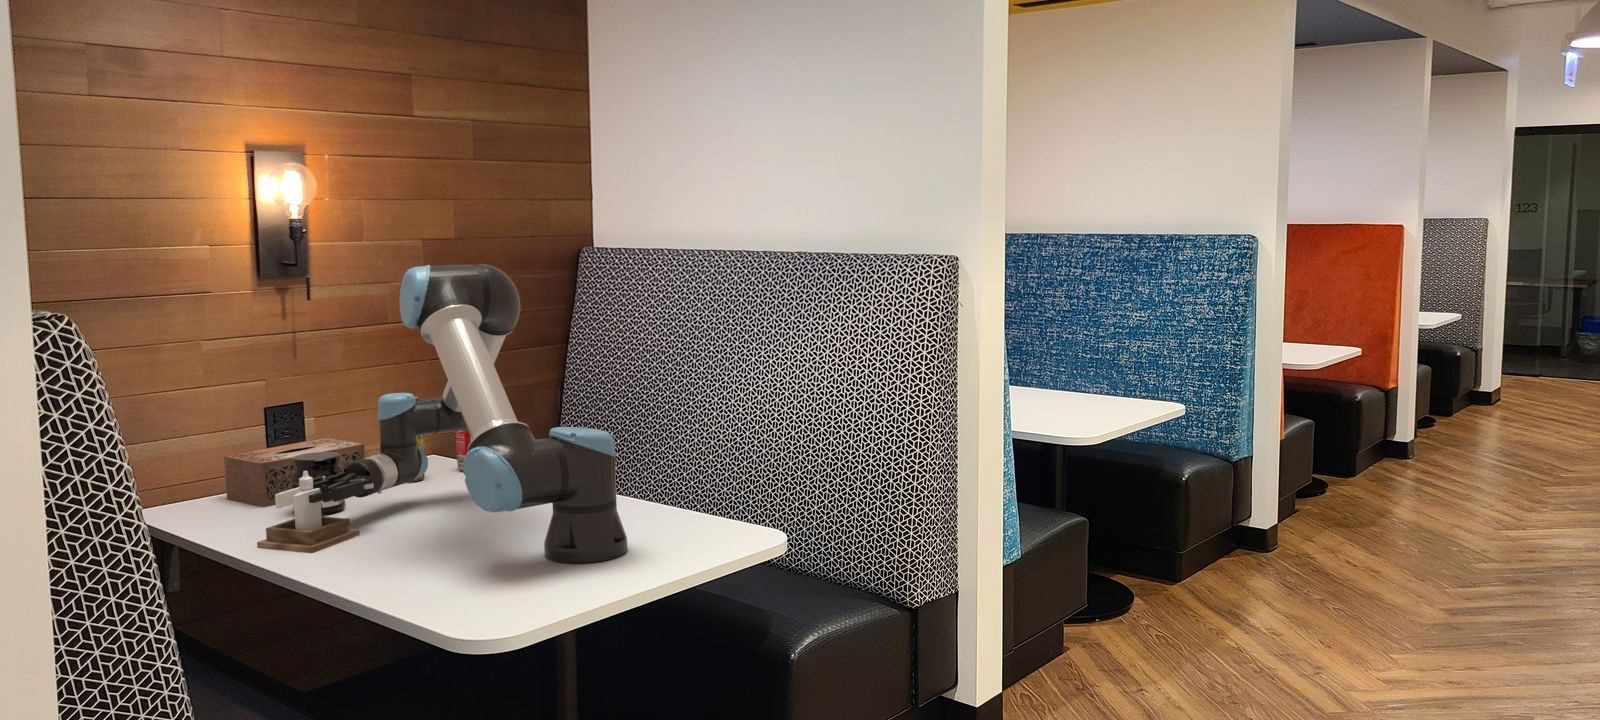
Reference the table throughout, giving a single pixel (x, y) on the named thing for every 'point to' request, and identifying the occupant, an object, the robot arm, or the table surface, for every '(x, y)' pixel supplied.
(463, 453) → the soda can
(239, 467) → the tissue box cover
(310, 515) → the eye dropper bottle
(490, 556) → the table surface
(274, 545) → the square wooden tray stand
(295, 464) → the supplement container
